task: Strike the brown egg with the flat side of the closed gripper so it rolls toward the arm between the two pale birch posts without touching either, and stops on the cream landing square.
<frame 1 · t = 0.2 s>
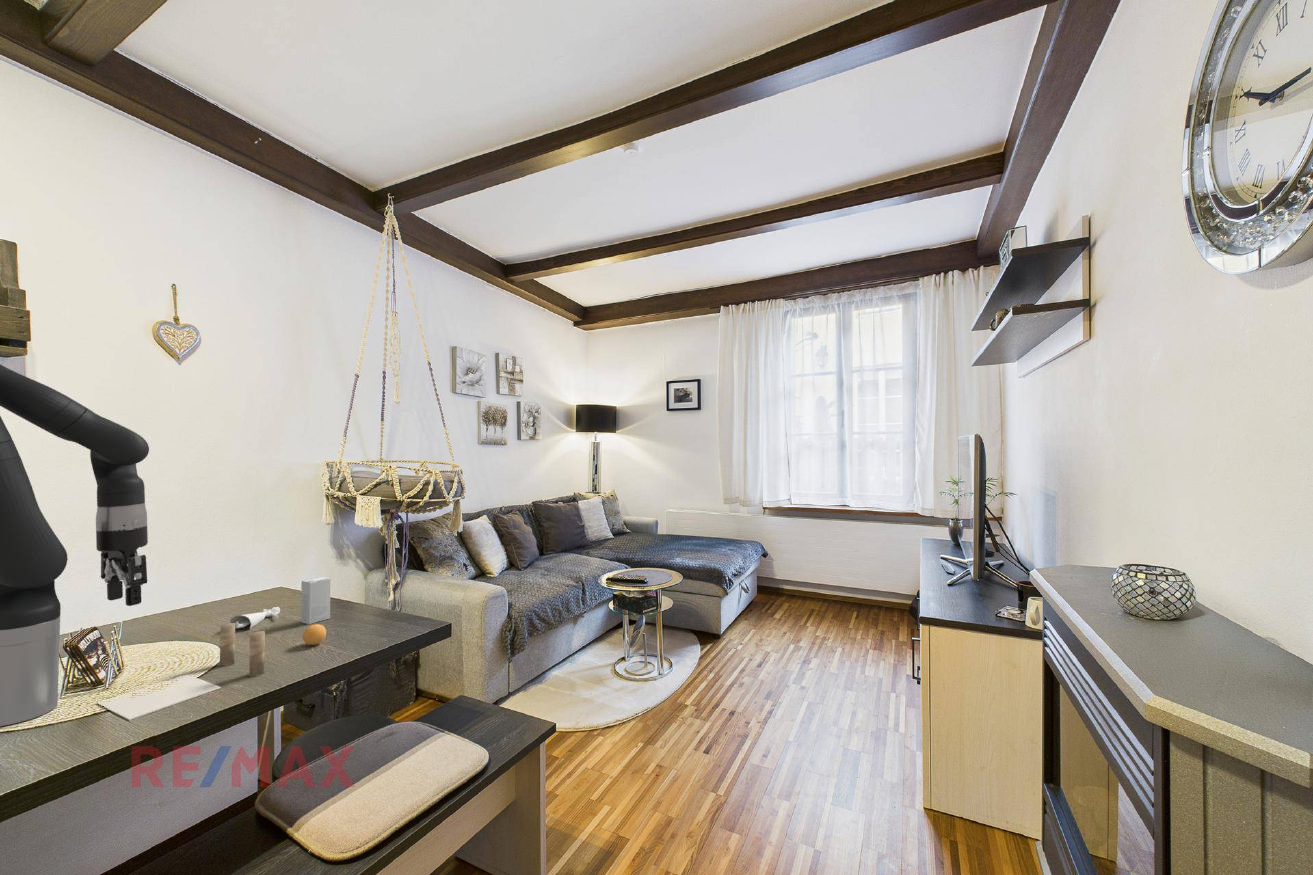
hand: (124, 601, 108), 17 cm above the table, tool pointing down, fingers open, 8 cm apart
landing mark: (160, 695, 103), on the table
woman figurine: (256, 624, 146), on the table
brown egg: (314, 634, 130), on the table
left post: (227, 663, 118), on the table
skincare box: (315, 621, 147), on the table
right post: (256, 673, 113), on the table
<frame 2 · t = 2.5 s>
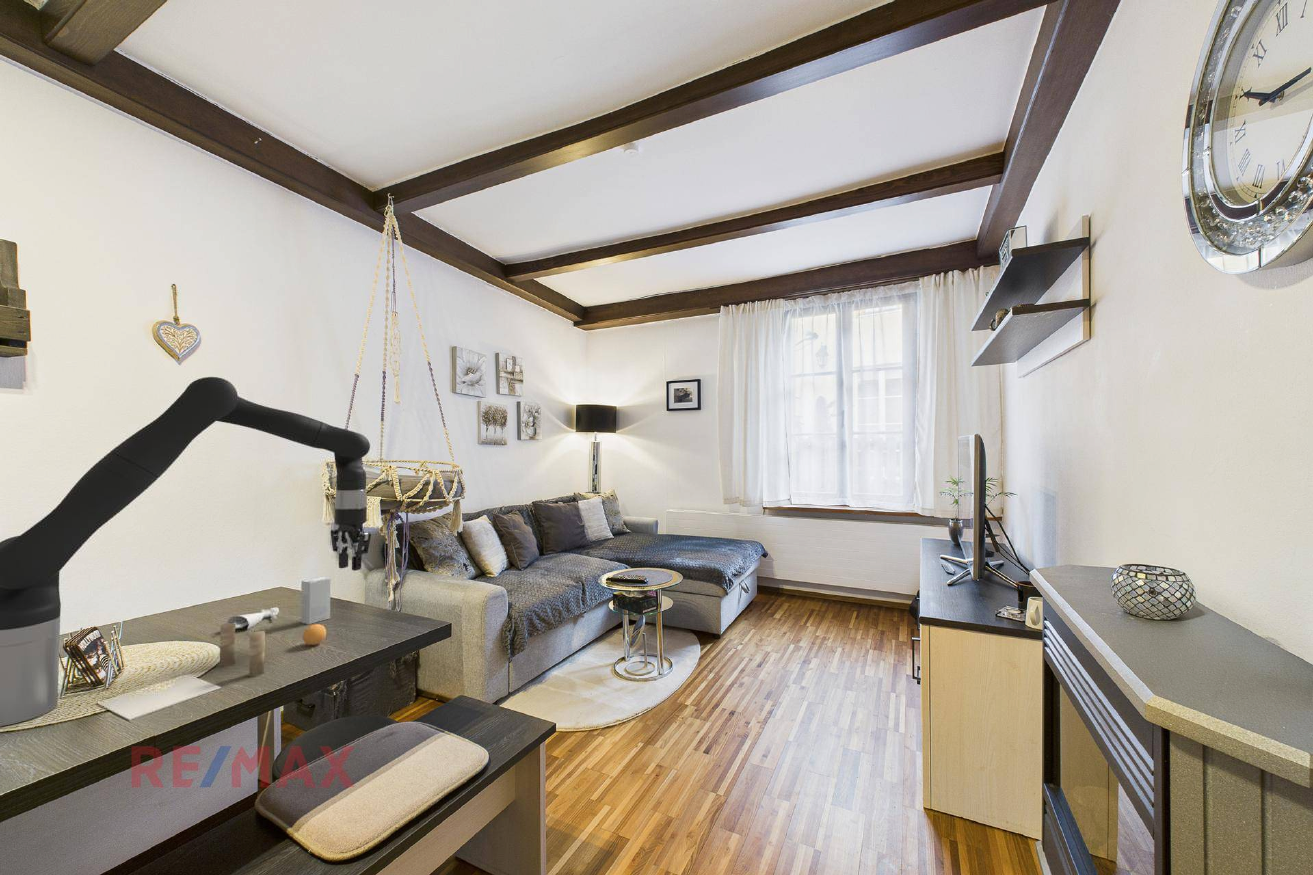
hand: (349, 568, 138), 17 cm above the table, tool pointing down, fingers open, 5 cm apart
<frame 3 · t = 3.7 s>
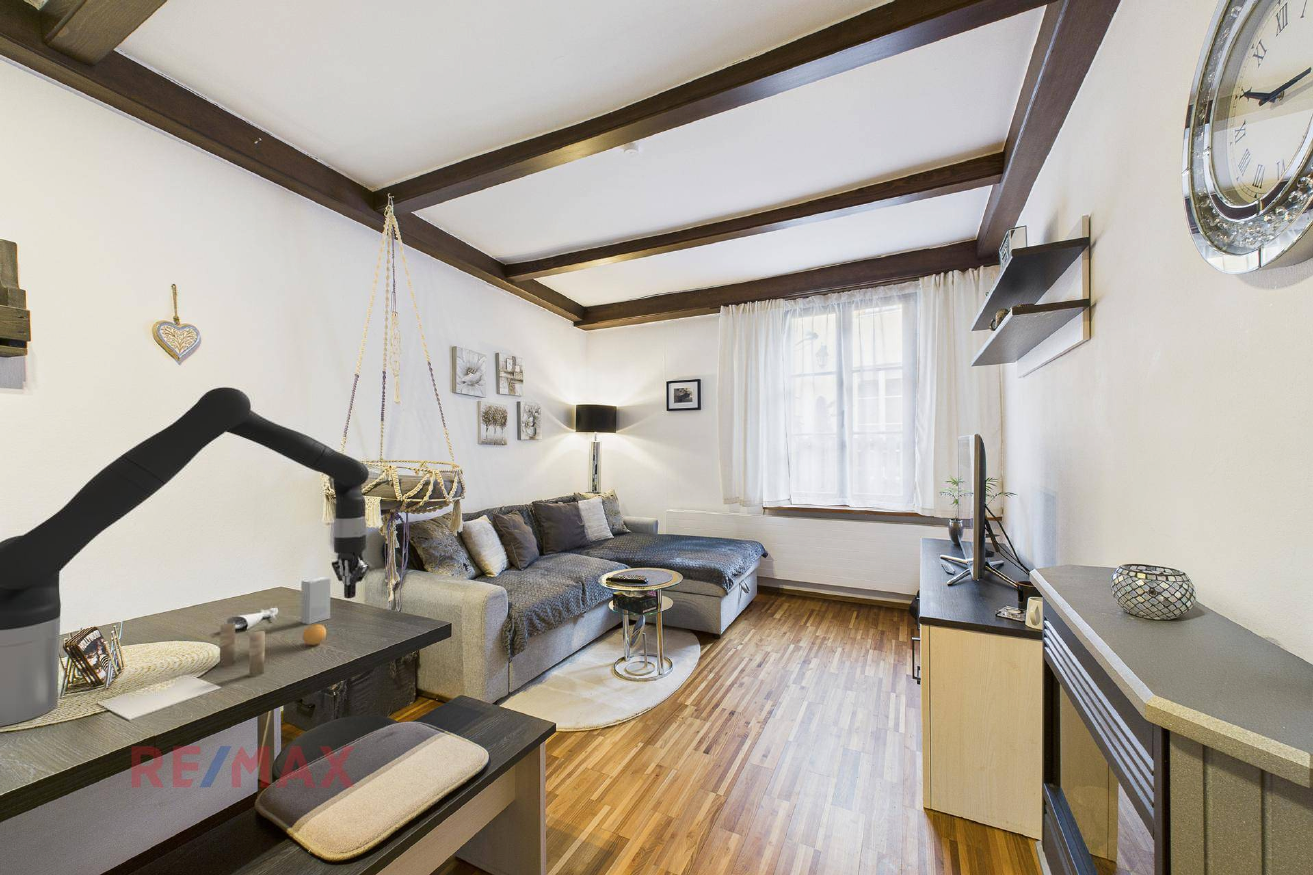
hand: (349, 597, 138), 10 cm above the table, tool pointing down, fingers closed
nothing on the table moved.
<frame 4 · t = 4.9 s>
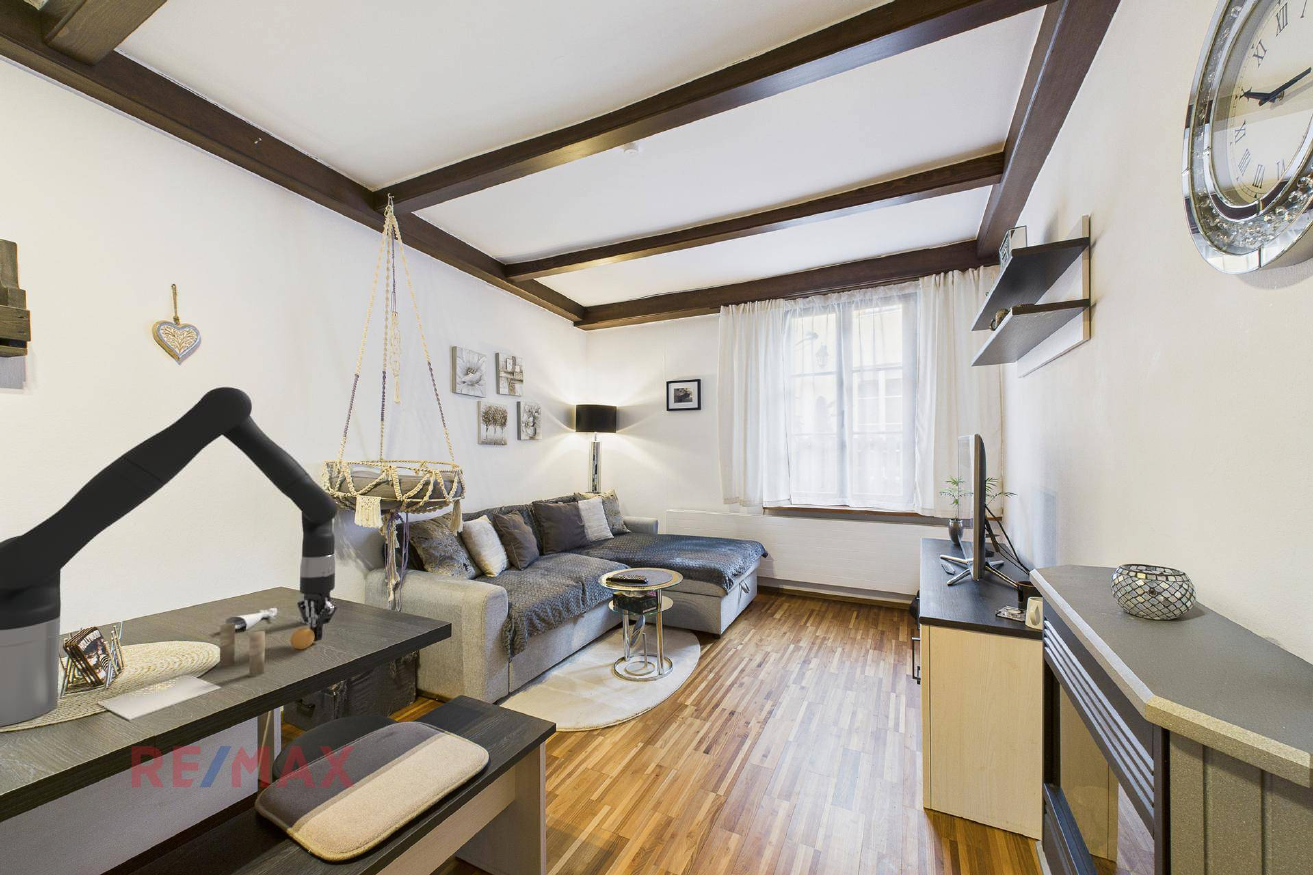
hand: (316, 640, 131), 1 cm above the table, tool pointing down, fingers closed
brown egg: (302, 638, 127), on the table, touching gripper
everything else where it was.
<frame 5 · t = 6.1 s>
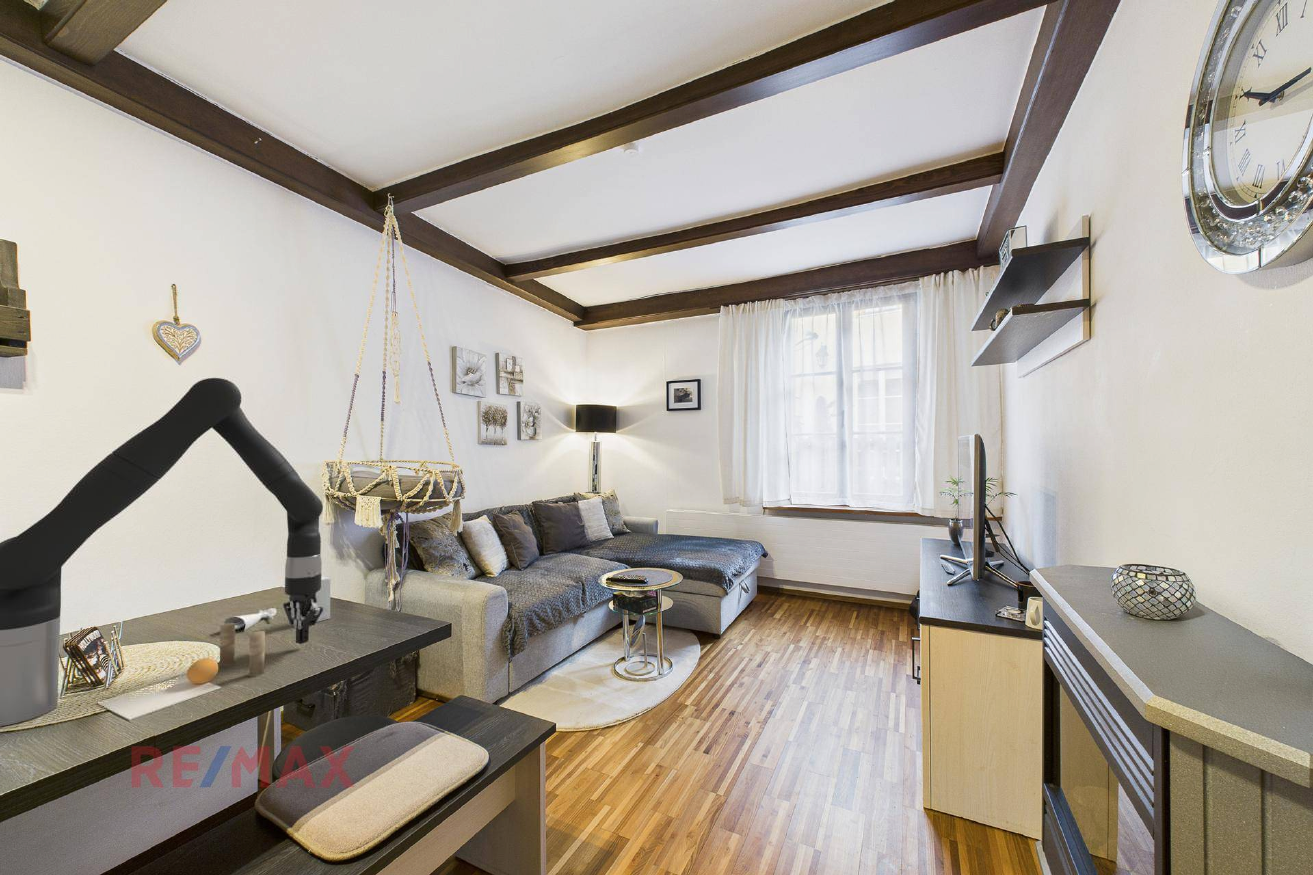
hand: (302, 642, 127), 2 cm above the table, tool pointing down, fingers closed
brown egg: (202, 670, 108), on the table
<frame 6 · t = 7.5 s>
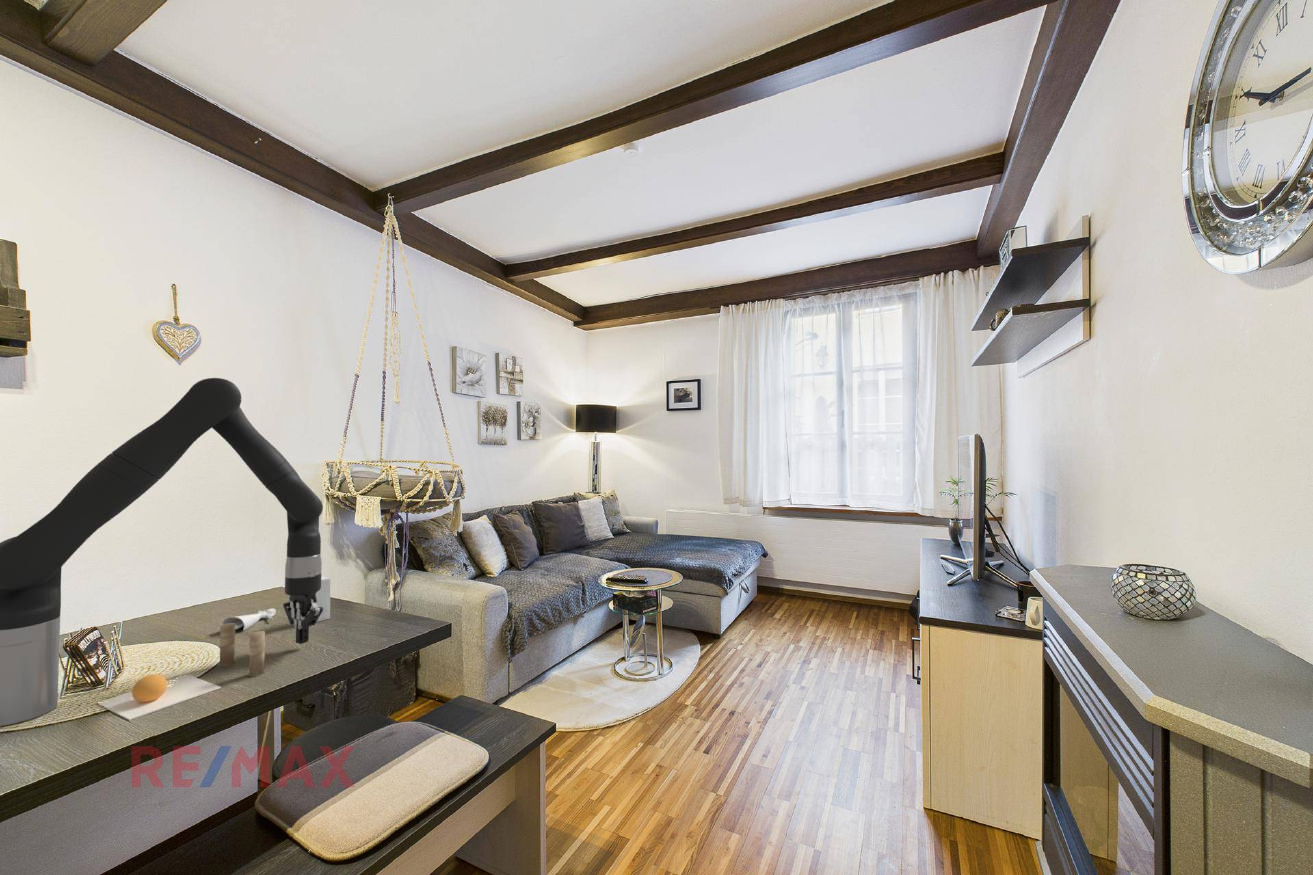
hand: (302, 642, 127), 2 cm above the table, tool pointing down, fingers closed
brown egg: (150, 688, 101), on the table
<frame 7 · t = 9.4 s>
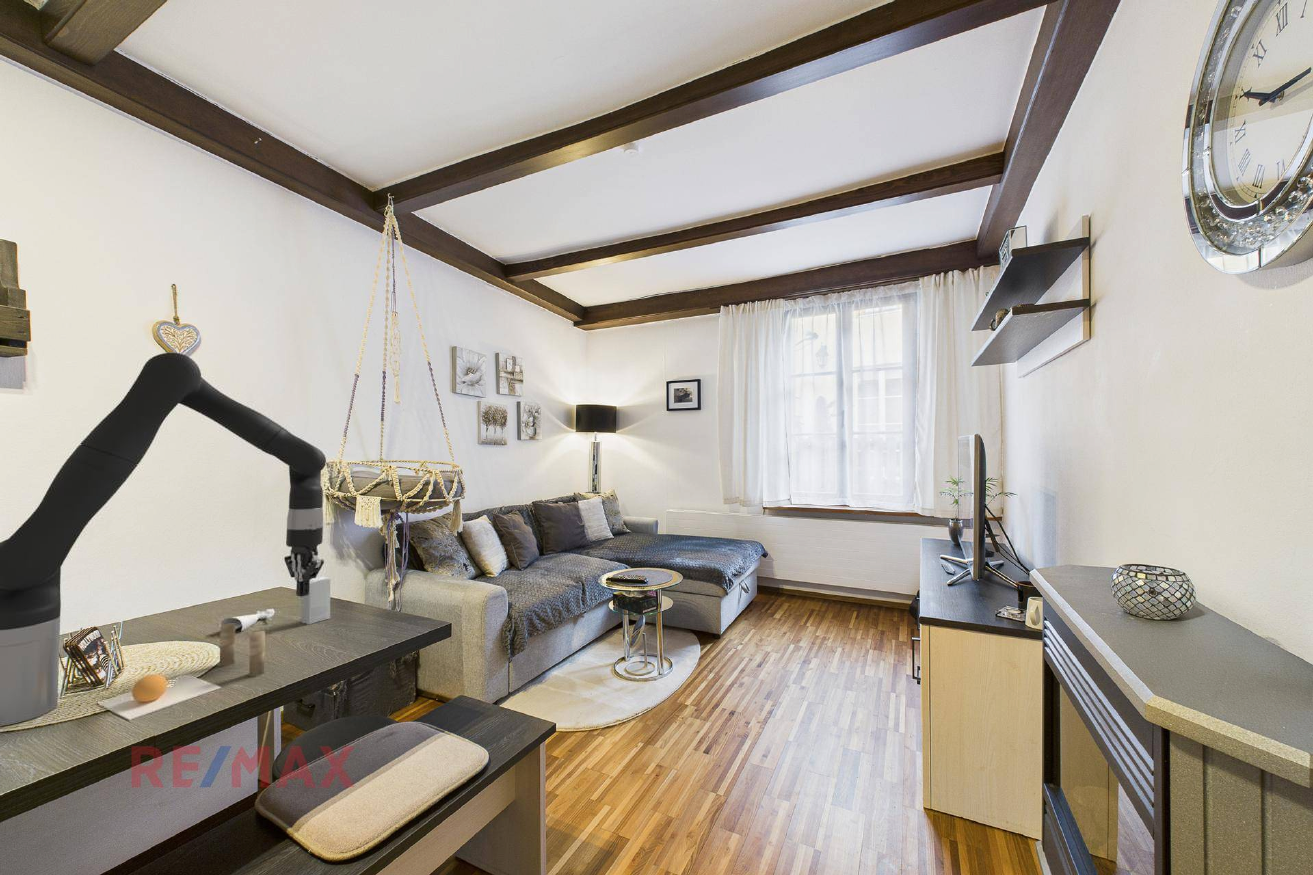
hand: (302, 595, 127), 13 cm above the table, tool pointing down, fingers closed
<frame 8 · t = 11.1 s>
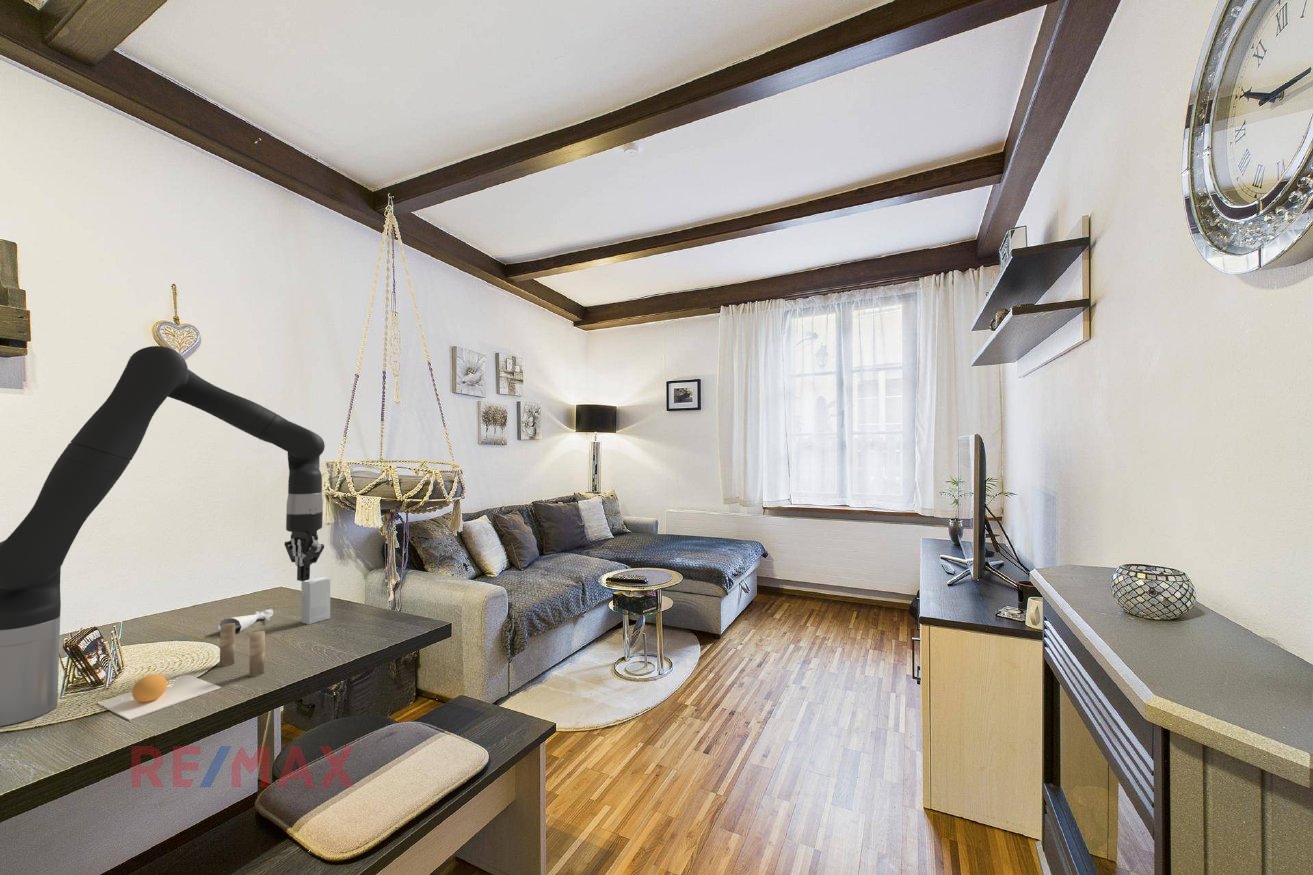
hand: (303, 580, 128), 17 cm above the table, tool pointing down, fingers closed
at the end: brown egg 2.1 cm from the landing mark (horizontally); brown egg never touched left post; brown egg never touched right post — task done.
